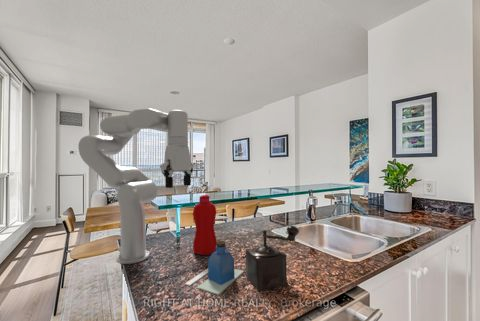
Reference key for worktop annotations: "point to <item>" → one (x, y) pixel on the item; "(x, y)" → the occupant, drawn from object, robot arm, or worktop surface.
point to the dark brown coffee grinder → (268, 263)
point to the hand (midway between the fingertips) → (178, 186)
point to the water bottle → (204, 226)
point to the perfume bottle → (221, 264)
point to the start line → (197, 277)
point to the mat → (216, 288)
